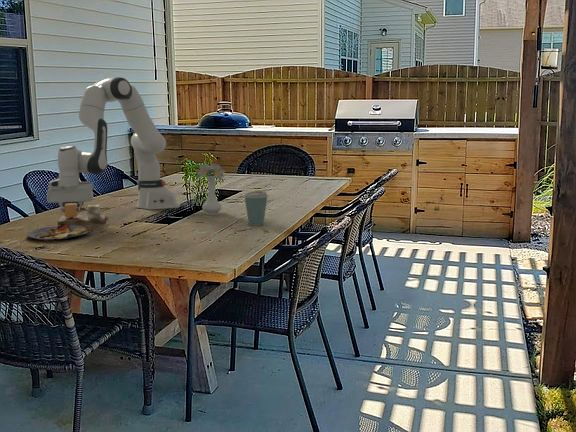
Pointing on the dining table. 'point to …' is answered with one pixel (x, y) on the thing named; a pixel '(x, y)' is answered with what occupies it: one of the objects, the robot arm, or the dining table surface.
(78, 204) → the end cap
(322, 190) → the dining table surface
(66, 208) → the tan wooden cube
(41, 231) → the food plate
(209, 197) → the flower vase
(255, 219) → the disposable coffee cup
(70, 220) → the peg board
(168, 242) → the dining table surface
